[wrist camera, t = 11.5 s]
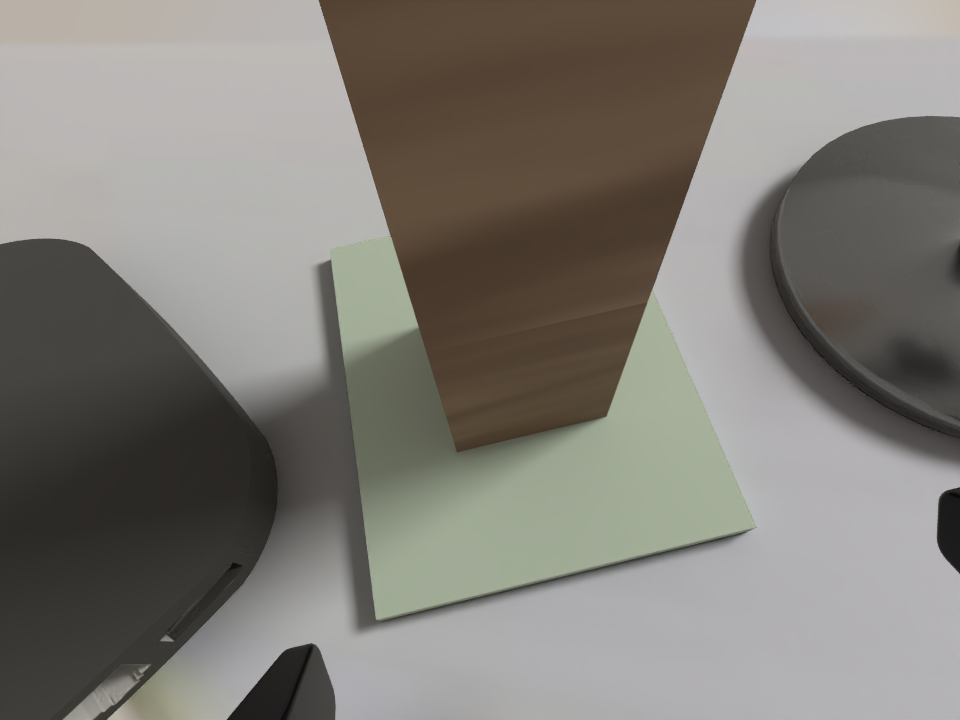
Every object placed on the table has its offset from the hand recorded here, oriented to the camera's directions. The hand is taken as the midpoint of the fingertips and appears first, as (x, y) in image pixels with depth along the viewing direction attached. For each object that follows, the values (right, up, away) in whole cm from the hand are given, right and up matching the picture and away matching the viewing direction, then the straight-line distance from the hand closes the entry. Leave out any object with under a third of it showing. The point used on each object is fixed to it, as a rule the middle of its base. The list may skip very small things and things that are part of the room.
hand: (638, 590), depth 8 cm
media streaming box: (-17, -2, +9) cm, 19 cm away
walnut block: (-1, +3, +9) cm, 10 cm away
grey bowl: (+13, +6, +10) cm, 18 cm away
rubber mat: (-1, +3, +10) cm, 10 cm away
